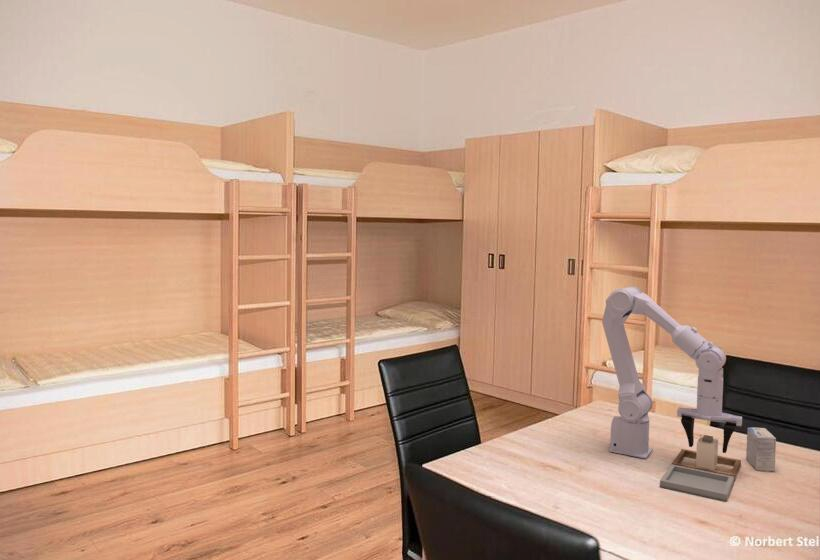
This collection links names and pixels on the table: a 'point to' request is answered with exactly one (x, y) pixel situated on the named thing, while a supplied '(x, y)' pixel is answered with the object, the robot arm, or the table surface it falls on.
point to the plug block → (707, 452)
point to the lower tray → (697, 482)
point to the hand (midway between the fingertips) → (707, 448)
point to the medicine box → (761, 449)
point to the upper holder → (720, 459)
